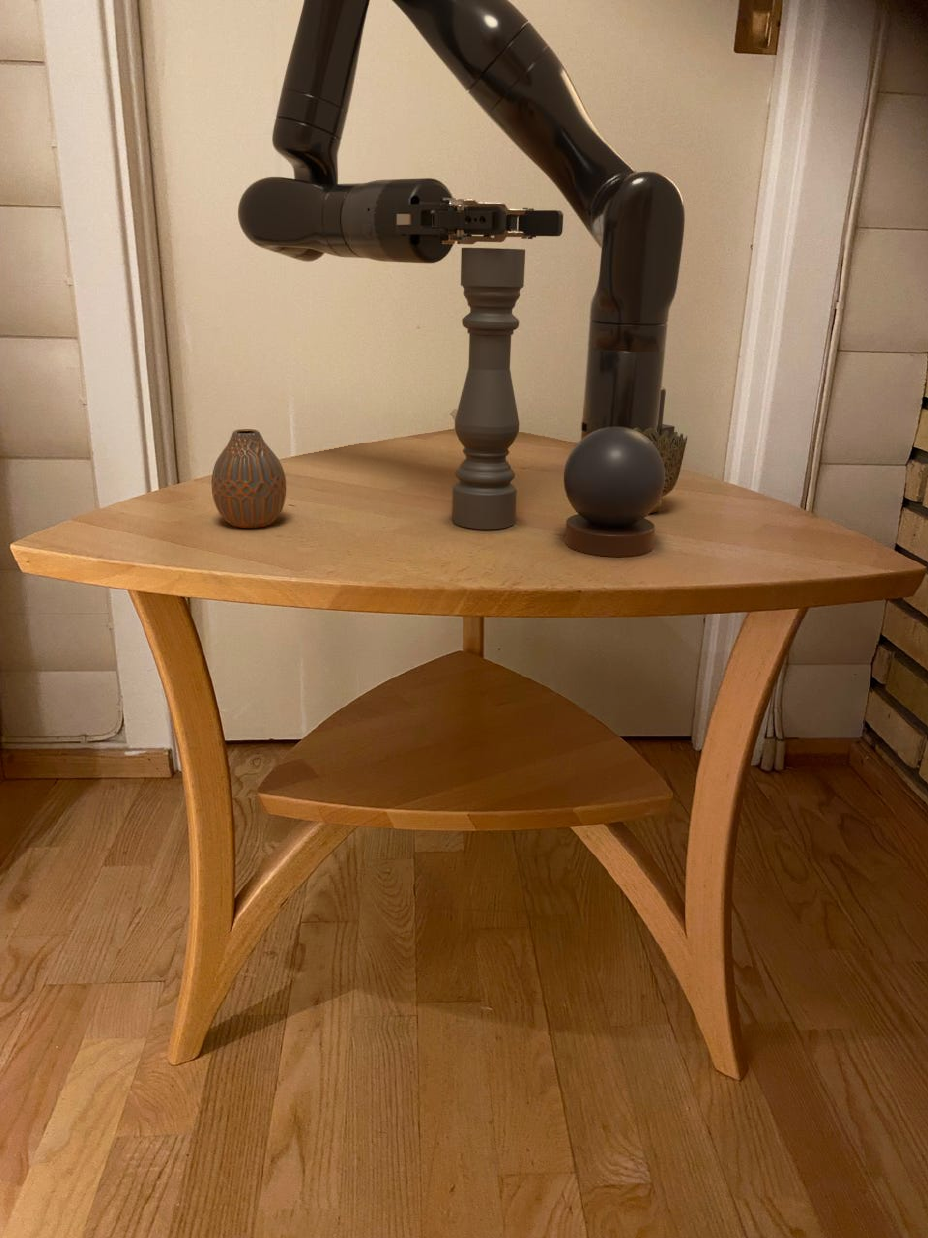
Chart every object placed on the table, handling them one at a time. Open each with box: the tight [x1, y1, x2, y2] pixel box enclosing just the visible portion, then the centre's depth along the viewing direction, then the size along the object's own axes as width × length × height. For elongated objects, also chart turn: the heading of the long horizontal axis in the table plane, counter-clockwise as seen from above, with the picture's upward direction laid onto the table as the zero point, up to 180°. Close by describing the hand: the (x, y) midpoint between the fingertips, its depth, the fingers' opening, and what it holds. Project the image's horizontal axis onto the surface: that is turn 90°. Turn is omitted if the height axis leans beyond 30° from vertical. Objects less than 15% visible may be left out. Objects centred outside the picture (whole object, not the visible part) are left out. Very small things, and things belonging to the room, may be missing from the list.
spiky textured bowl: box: [633, 427, 688, 514], centre depth 98 cm, size 8×7×8 cm
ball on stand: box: [563, 427, 665, 558], centre depth 86 cm, size 9×9×11 cm
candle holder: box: [451, 247, 526, 530], centre depth 90 cm, size 6×6×25 cm
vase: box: [210, 428, 287, 529], centre depth 90 cm, size 7×7×9 cm
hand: (533, 221), depth 84 cm, fingers open, 8 cm apart
